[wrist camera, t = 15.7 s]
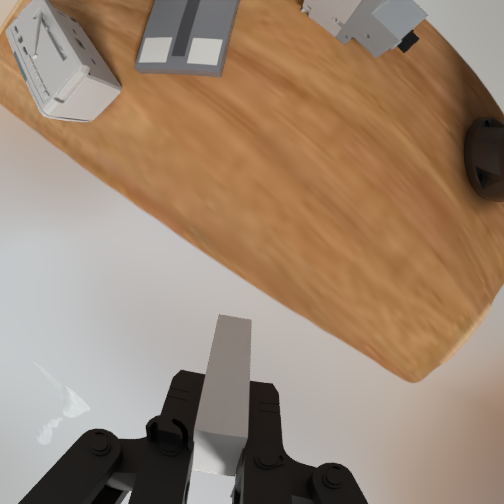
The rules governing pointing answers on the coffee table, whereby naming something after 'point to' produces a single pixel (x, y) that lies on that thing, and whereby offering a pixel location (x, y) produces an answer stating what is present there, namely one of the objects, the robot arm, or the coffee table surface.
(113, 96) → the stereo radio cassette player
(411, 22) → the circuit breaker
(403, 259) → the coffee table surface
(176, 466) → the robot arm
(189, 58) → the grey flat board
